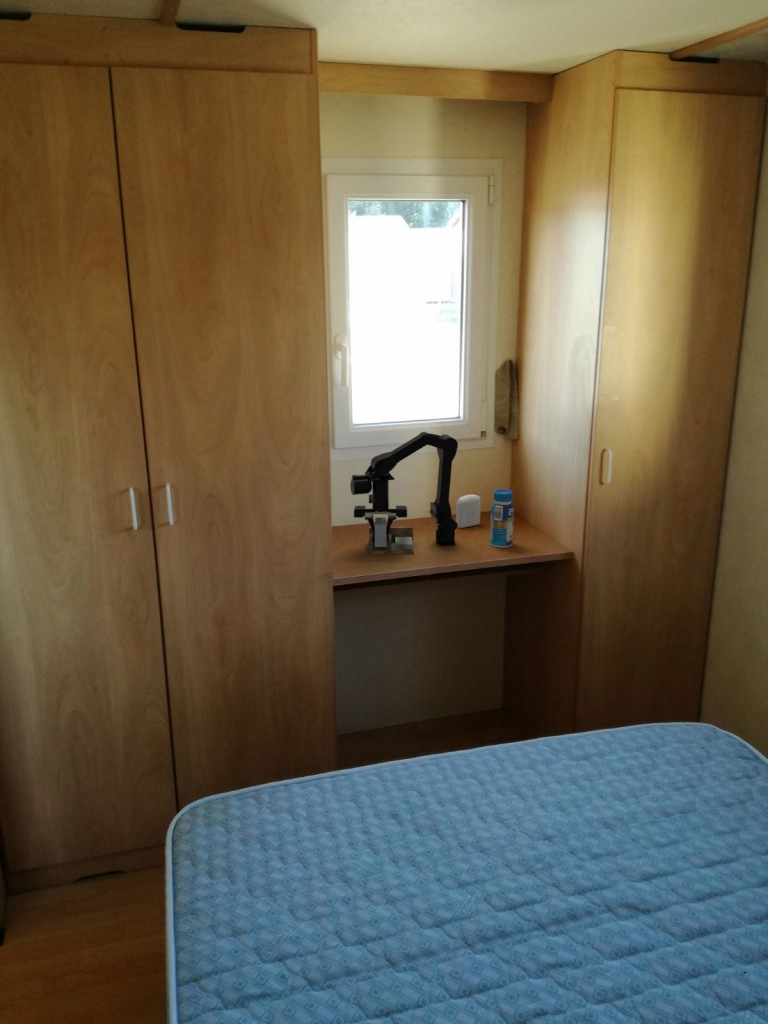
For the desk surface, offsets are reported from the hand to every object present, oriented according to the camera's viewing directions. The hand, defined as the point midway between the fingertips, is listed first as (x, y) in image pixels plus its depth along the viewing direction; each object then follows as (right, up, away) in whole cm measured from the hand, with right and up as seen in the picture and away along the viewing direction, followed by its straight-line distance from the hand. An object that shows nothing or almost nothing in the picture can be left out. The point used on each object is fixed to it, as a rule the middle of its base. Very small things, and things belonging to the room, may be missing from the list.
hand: (380, 534), depth 279 cm
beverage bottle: (+44, -4, +6) cm, 44 cm away
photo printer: (+34, +3, +27) cm, 44 cm away
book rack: (+4, -5, +3) cm, 7 cm away
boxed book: (0, -3, +1) cm, 3 cm away
